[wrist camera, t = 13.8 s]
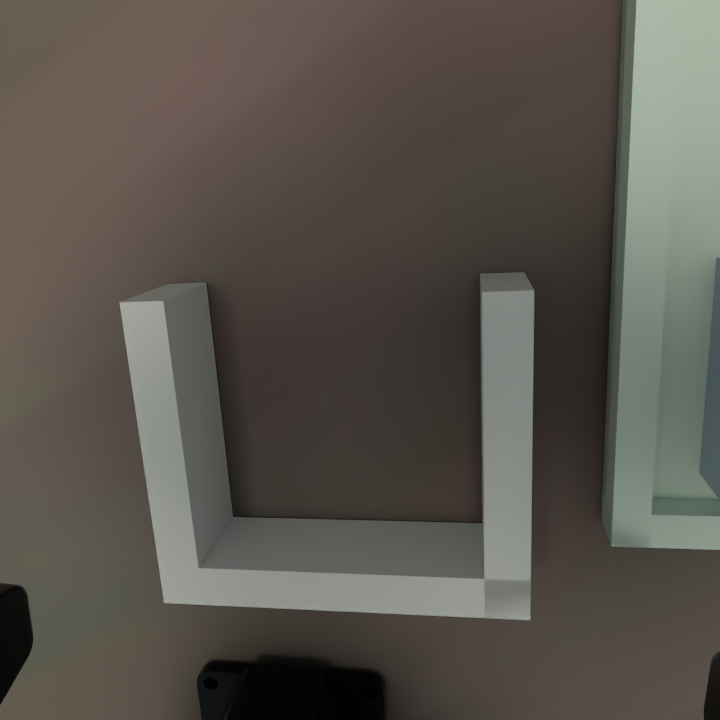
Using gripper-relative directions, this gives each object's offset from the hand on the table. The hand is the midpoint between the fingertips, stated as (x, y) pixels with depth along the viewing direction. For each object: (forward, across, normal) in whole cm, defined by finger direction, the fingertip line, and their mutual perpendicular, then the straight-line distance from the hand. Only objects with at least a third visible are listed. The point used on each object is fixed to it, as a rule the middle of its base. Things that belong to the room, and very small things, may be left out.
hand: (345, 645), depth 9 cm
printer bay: (+12, +2, +1) cm, 12 cm away
